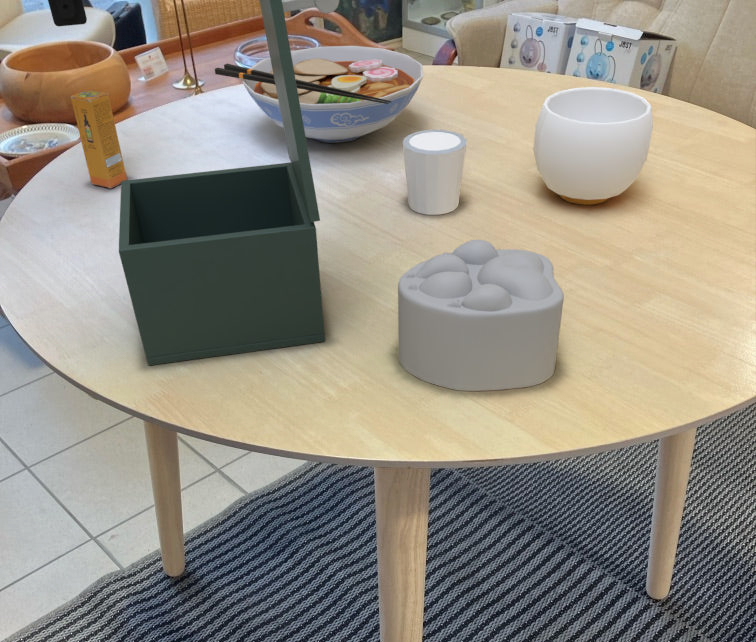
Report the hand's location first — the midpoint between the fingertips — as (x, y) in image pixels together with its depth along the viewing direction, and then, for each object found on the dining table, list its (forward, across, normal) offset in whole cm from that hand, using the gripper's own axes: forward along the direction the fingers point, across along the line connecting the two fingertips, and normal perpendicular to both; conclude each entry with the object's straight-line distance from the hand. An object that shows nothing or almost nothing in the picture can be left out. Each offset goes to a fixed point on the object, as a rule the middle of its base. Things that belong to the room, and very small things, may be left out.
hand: (74, 11), depth 90 cm
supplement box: (+19, 0, -1) cm, 19 cm away
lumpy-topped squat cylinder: (+18, +45, +31) cm, 58 cm away
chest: (+18, +34, +11) cm, 40 cm away
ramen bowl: (+19, -9, +28) cm, 35 cm away
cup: (+19, +17, +52) cm, 58 cm away
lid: (-1, +33, +18) cm, 38 cm away
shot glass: (+19, +15, +35) cm, 43 cm away
